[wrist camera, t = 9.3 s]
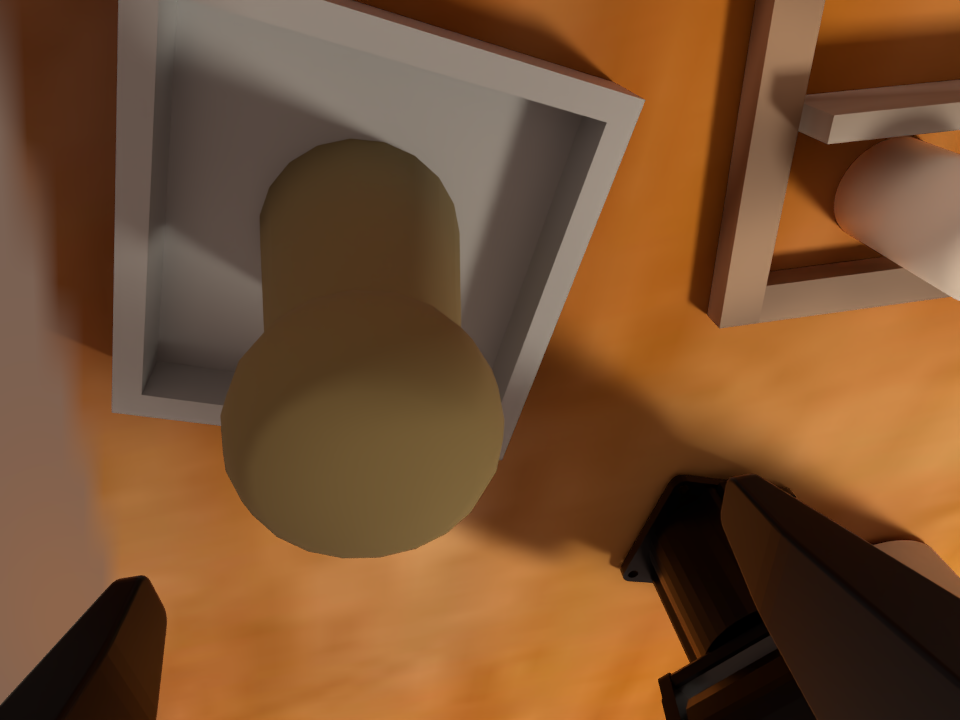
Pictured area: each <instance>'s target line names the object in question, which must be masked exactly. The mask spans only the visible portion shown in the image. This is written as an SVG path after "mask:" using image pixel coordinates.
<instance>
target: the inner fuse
mask: <svg viewBox="0 0 960 720" xmlns="http://www.w3.org/2000/svg"><path fill="white" fill-rule="evenodd" d="M834 215H835V219H836V221H837V223H838V225H839V226H840V228H841V229H842V230H843V231H844V232H846V233H847V234H849V235H850V236H852V237H854V238H855V239H857V240H859V241H860V242H862V243H863V244H865V245H867V246H868V247H870V248H872V249H873V250H875V251H877V252H878V253H880V254H882V255H883V256H885V257H886V258H888V259H890V260H891V261H893V262H895V263H896V264H898V265H900V266H901V267H903V268H905V269H906V270H908V271H909V272H911V273H913V274H914V275H916V276H918V277H919V278H921V279H923V280H924V281H926V282H928V283H929V284H931V285H932V286H934V287H936V288H937V289H939V290H941V291H942V292H944V293H946V294H947V295H949V296H951V297H952V298H954V299H957V300H959V301H960V154H957V153H954V152H952V151H949V150H946V149H943V148H941V147H938V146H935V145H933V144H930V143H927V142H924V141H922V140H919V139H916V138H913V137H907V136H899V137H893V138H889V139H886V140H884V141H881V142H879V143H877V144H875V145H874V146H872V147H870V148H869V149H868V150H866V151H865V152H864V153H862V154H861V155H860V156H859V157H858V158H857V159H856V160H855V161H854V162H853V163H852V164H851V166H850V167H849V168H848V170H847V171H846V173H845V174H844V176H843V177H842V179H841V181H840V183H839V186H838V188H837V191H836V194H835V199H834Z"/></svg>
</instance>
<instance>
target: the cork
mask: <svg viewBox="0 0 960 720" xmlns="http://www.w3.org/2000/svg"><path fill="white" fill-rule="evenodd" d="M260 249H261V273H262V298H263V322H264V333H263V334H262V335H261V336H260V337H259V339H258V340H257V341H256V342H255V343H254V344H253V345H252V346H251V348H250V349H249V350H248V351H247V352H246V353H245V354H244V355H243V357H242V358H241V359H240V360H239V362H238V364H237V367H236V370H235V373H234V376H233V378H232V381H231V384H230V387H229V390H228V392H227V395H226V398H225V401H224V405H223V408H222V411H221V415H220V418H221V432H222V445H223V455H224V462H225V470H226V472H227V474H228V476H229V478H230V480H231V482H232V484H233V486H234V487H235V489H236V491H237V493H238V495H239V497H240V499H241V501H242V502H243V503H244V505H245V506H246V507H247V509H248V510H249V511H250V512H251V514H252V515H253V516H254V517H255V518H256V519H258V520H259V521H260V522H261V523H262V524H263V525H264V526H265V527H267V528H268V529H269V530H270V531H271V532H272V533H273V534H274V535H276V536H277V537H278V538H281V539H283V540H285V541H287V542H289V543H291V544H293V545H296V546H298V547H300V548H302V549H304V550H306V551H309V552H314V553H319V554H324V555H329V556H334V557H339V558H377V557H384V556H388V555H392V554H396V553H400V552H405V551H409V550H413V549H416V548H418V547H420V546H422V545H424V544H426V543H428V542H430V541H432V540H434V539H436V538H438V537H440V536H442V535H444V534H446V533H447V532H449V531H450V530H451V529H452V528H453V527H454V526H456V525H457V524H458V523H459V522H460V521H461V520H462V519H464V518H465V517H466V516H467V515H468V514H469V513H471V511H472V510H473V508H474V506H475V505H476V503H477V502H478V500H479V498H480V497H481V495H482V494H483V492H484V491H485V489H486V487H487V486H488V484H489V482H490V481H491V479H492V478H493V476H494V474H495V473H496V471H497V466H498V461H499V457H500V452H501V447H502V442H503V434H504V415H503V410H502V405H501V399H500V394H499V389H498V385H497V382H496V379H495V377H494V374H493V371H492V369H491V367H490V366H489V364H488V363H487V361H486V359H485V358H484V356H483V355H482V353H481V352H480V350H479V348H478V347H477V345H476V344H475V342H474V341H473V339H472V338H471V337H470V336H469V335H468V334H467V333H466V332H465V331H464V330H463V329H462V328H461V287H460V232H459V227H458V222H457V217H456V211H455V206H454V203H453V201H452V199H451V198H450V196H449V194H448V192H447V191H446V189H445V187H444V185H443V184H442V182H441V180H440V178H439V177H438V176H437V175H436V174H435V173H434V172H432V171H431V170H430V169H429V168H428V167H427V166H426V165H425V164H424V163H422V162H421V161H420V160H419V159H418V158H417V157H416V156H414V155H412V154H410V153H408V152H405V151H403V150H401V149H399V148H396V147H394V146H392V145H390V144H387V143H385V142H378V141H369V140H360V139H351V138H350V139H346V140H341V141H336V142H332V143H327V144H322V145H318V146H316V147H314V148H313V149H311V150H309V151H308V152H306V153H304V154H303V155H301V156H299V157H298V158H296V159H294V160H293V161H291V162H289V163H288V165H287V166H286V167H285V168H284V170H283V171H282V172H281V173H280V175H279V176H278V177H277V178H276V179H275V181H274V182H273V183H272V184H271V186H270V187H269V189H268V192H267V195H266V198H265V201H264V204H263V207H262V210H261V213H260Z"/></svg>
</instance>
